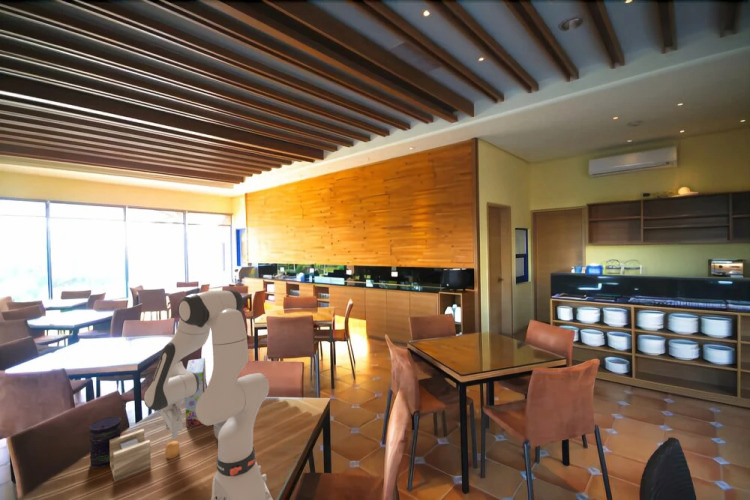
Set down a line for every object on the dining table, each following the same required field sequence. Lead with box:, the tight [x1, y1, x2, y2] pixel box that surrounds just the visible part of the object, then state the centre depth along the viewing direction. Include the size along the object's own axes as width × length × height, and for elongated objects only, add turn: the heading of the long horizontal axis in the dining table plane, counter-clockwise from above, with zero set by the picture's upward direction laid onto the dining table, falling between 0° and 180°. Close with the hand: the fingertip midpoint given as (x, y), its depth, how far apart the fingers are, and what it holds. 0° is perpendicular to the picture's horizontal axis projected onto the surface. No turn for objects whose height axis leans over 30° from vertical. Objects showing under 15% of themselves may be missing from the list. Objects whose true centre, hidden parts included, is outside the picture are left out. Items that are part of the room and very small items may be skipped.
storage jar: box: [89, 416, 122, 469], centre depth 131 cm, size 10×10×15 cm
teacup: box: [213, 419, 228, 440], centre depth 148 cm, size 14×11×8 cm
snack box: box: [184, 357, 207, 428], centre depth 165 cm, size 22×9×26 cm, turn 25°
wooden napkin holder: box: [109, 428, 152, 483], centre depth 127 cm, size 13×11×10 cm
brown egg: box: [165, 440, 180, 460], centre depth 134 cm, size 5×5×4 cm
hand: (171, 433), depth 134 cm, fingers open, 8 cm apart
